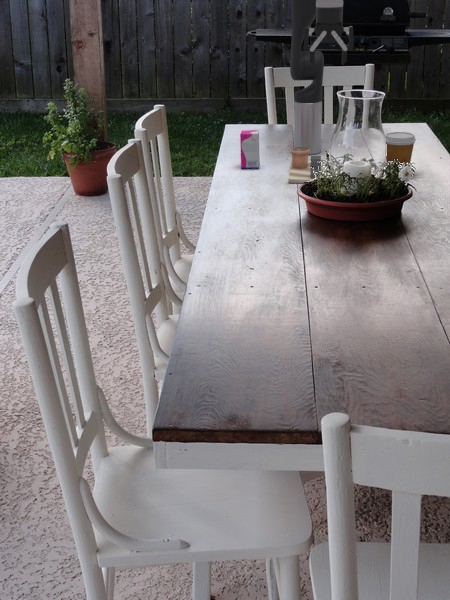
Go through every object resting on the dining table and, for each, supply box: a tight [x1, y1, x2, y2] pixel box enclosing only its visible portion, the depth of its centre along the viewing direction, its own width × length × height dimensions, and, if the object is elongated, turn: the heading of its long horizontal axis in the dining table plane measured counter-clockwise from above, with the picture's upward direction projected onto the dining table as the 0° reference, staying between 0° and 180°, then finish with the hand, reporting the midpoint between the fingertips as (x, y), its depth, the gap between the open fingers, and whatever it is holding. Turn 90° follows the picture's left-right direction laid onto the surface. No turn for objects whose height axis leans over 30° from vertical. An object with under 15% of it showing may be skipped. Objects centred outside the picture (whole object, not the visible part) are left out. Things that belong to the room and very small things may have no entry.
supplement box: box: [239, 129, 261, 170], centre depth 254 cm, size 6×6×12 cm
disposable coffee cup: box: [384, 131, 417, 164], centre depth 242 cm, size 10×10×12 cm
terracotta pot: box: [289, 146, 310, 169], centre depth 250 cm, size 6×6×6 cm
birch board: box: [288, 155, 323, 184], centre depth 247 cm, size 24×10×7 cm, turn 174°
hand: (328, 64), depth 231 cm, fingers open, 8 cm apart
